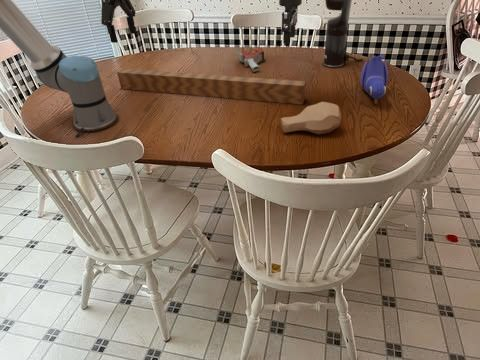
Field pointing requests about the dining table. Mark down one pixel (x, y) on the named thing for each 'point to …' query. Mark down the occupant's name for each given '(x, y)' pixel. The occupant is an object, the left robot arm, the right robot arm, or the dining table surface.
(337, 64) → the right robot arm
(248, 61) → the tape dispenser
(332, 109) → the squash
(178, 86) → the bar
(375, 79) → the toy
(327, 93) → the dining table surface
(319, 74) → the dining table surface
